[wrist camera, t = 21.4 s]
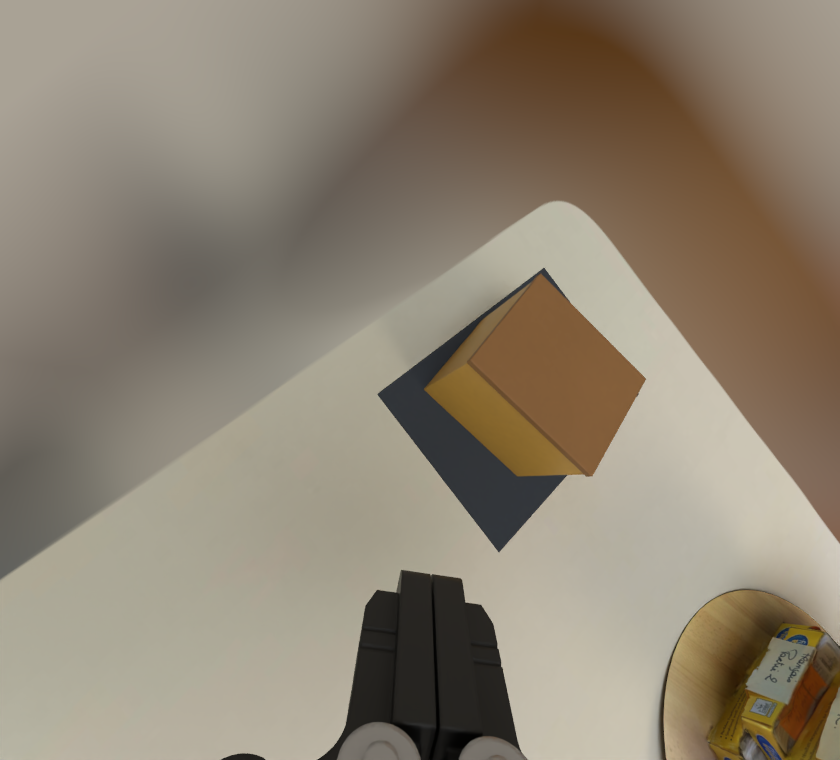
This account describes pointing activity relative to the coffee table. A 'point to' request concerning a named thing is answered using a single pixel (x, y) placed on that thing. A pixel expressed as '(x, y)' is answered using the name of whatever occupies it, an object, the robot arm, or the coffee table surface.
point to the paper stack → (753, 684)
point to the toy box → (539, 385)
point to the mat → (466, 447)
